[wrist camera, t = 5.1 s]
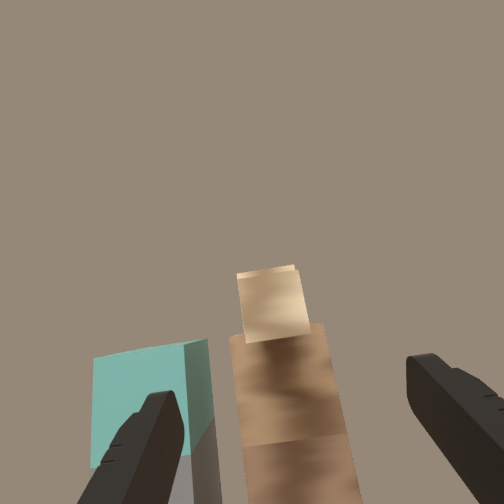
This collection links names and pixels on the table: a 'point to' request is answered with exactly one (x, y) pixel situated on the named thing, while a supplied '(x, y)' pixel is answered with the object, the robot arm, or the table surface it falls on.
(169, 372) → the gray teal square column
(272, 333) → the beige stepped block
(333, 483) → the walnut tower
